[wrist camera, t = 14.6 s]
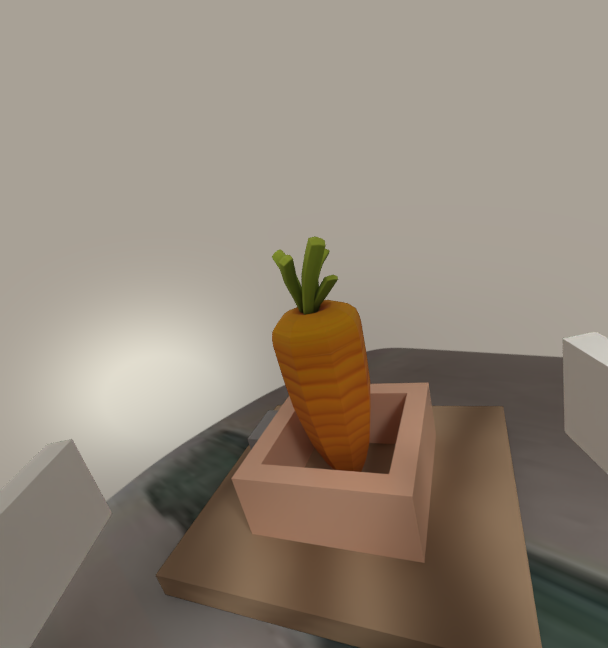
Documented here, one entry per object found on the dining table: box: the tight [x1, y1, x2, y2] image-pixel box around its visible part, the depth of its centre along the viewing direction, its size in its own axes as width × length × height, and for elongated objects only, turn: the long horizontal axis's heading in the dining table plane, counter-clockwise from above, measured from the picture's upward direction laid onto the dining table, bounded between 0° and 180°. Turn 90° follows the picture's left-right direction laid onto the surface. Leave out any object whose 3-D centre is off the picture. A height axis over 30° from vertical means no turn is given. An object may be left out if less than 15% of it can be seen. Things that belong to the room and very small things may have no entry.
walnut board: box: [156, 405, 542, 648], centre depth 24 cm, size 18×16×2 cm
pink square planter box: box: [231, 383, 436, 563], centre depth 23 cm, size 10×9×4 cm
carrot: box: [272, 237, 371, 472], centre depth 21 cm, size 5×5×15 cm
